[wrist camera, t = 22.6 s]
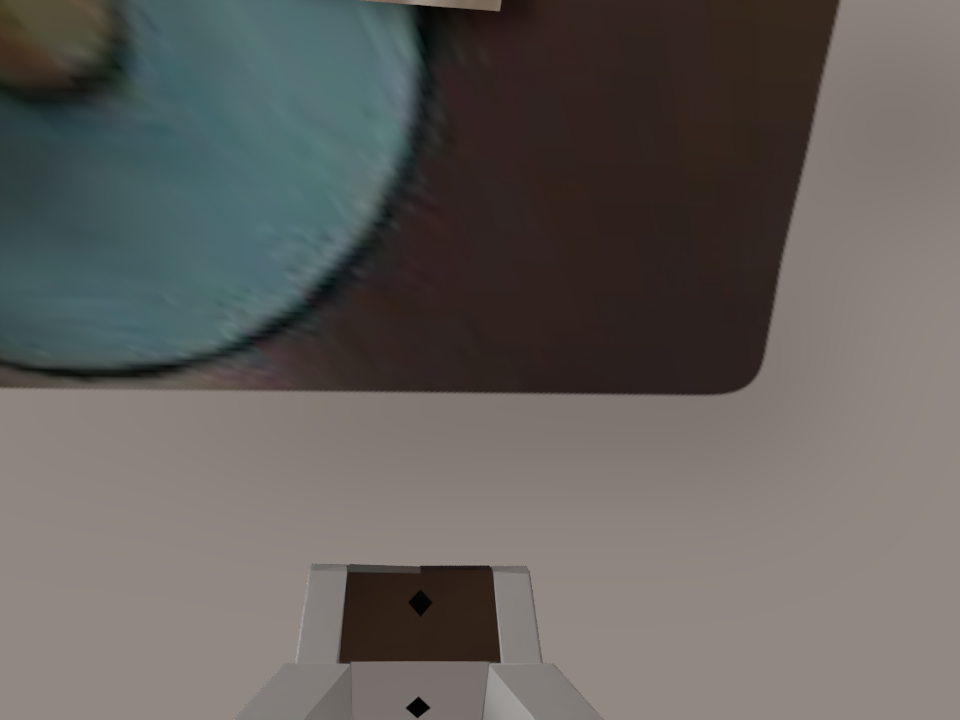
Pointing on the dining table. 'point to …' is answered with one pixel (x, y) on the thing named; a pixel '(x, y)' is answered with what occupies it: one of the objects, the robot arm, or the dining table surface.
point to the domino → (451, 3)
